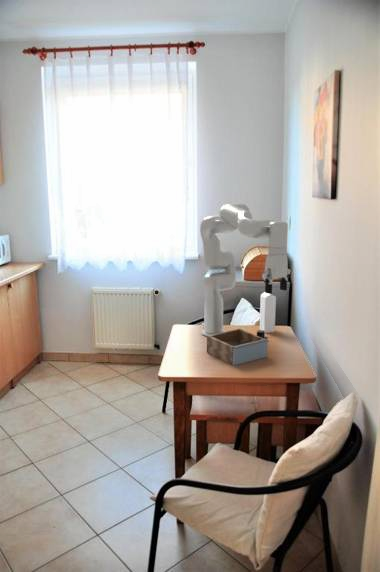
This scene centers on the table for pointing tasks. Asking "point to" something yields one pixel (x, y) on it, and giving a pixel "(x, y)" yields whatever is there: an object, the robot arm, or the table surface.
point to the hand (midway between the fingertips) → (275, 291)
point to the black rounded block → (261, 334)
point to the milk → (267, 312)
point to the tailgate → (249, 351)
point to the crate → (228, 343)
